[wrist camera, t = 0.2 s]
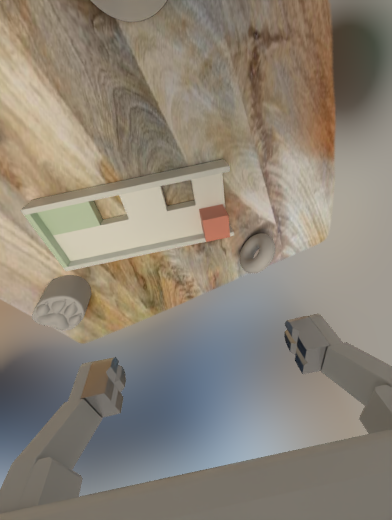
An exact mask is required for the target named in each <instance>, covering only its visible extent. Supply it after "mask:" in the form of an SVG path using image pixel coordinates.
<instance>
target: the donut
mask: <svg viewBox="0 0 392 520" xmlns="http://www.w3.org/2000/svg"><path fill="white" fill-rule="evenodd" d="M259 248H260V249H259ZM257 249H259V252H258V254H257V256H256V257H255V258H254V259H253V257H254V254H255V252H256V251H257ZM274 253H275V243H274V241H273V239H272V238H271V237H270V236H269V235H267V234H263V233H259V234H256V235H254V236H252V237H250V238H249V239H248V240H247V241H246V243H245V244H244V246H243V248H242V250H241V253H240V264H241V267H242V268H243V269H244V270H245V271H246V272H248V273H258V272H260V271H263V270H264V269H265V268H266V267H267V266H268V265H269V264H270V263H271V261H272V259H273V257H274Z"/></svg>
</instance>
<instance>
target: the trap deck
mask: <svg viewBox="0 0 392 520" xmlns="http://www.w3.org/2000/svg"><path fill="white" fill-rule="evenodd" d="M225 172H230V166H229V165H228V163H227V162H226V161H225V160H224V159H222V160H217V161H212V162H208V163H203V164H198V165H193V166H189V167H184V168H179V169H175V170H170V171H165V172H161V173H156V174H151V175H147V176H142V177H137V178H132V179H128V180H123V181H118V182H114V183H109V184H104V185H100V186H95V187H90V188H85V189H81V190H76V191H71V192H67V193H62V194H57V195H53V196H48V197H43V198H38V199H34V200H31V201H30V202H29V203H28V204H27V205H26V206H25V207H23V208H22V209H21V212H22V213H23V214H24V216H25V217H26V218H27V220H28V221H29V222H30V224H31V225H32V226H33V228H34V229H35V231H36V232H37V233H38V235H39V236H40V237H41V239H42V240H43V241H44V243H45V244H46V245H47V247H48V248H49V249H50V251H51V252H52V253H53V255H54V256H55V257H56V259H57V260H58V261H59V263H60V264H61V266H62V267H63V268H64V270H65V271H70V270H74V269H79V268H84V267H88V266H93V265H98V264H103V263H107V262H112V261H117V260H121V259H126V258H131V257H135V256H140V255H145V254H150V253H154V252H159V251H164V250H168V249H173V248H178V247H183V246H187V245H192V244H197V243H201V242H206V240H205V236H204V233H203V230H202V224H201V218H200V212H199V209H202V208H207V207H211V206H216V205H221V204H223V206H224V208H225V199H224V187H223V176H222V173H225ZM187 180H191V184H192V190H193V196H194V200H193V201H188V202H184V203H179V204H174V205H169V206H167V205H166V201H165V197H164V193H163V190H162V186H164V185H168V184H173V183H178V182H183V181H187ZM117 195H119V196H120V198H121V201H122V203H123V206H124V208H125V211H126V213H127V215H122V216H118V217H113V218H108V219H104V220H103V219H102V217H101V215H100V213H99V211H98V209H97V207H96V205H95V203H94V201H93V200H98V199H103V198H107V197H112V196H117ZM229 229H230V236H234V232H233V230H232V228H231V226H230V224H229Z"/></svg>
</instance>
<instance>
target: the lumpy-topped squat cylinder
mask: <svg viewBox="0 0 392 520" xmlns="http://www.w3.org/2000/svg"><path fill="white" fill-rule="evenodd" d="M90 297H91V288H90V285H89V284H88V282H87V281H86V280H85V279H83V278H81V277H79V276H74V275H67V276H61V277H58V278H56V279H53V280H52V281H51V282H50V283H49V284H48V286H47V287H46V289H45V291H44V293H43V295H42V296H41V298H40V300H39V302H38V304H37V306H36V307H35V309H34V312H33V314H32V318H33V320H34V321H35V322H36V323H39V324H41V325H44V326H50V327H53V328H56V329H58V330H70V329H73V328H74V327H76V326H77V325H78V324H79V323H80V322H81V320H82V319H83V317H84V315H85V312H86V309H87V306H88V303H89V300H90Z"/></svg>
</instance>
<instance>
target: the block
mask: <svg viewBox="0 0 392 520" xmlns="http://www.w3.org/2000/svg"><path fill="white" fill-rule="evenodd" d="M199 212H200V218H201V224H202V230H203V233H204V236H205V240H206V242H208V241H213V240H218V239H222V238H227V237H230V229H229V216H228V213H227V212H226V210H225V208H224V206H223V204H221V205H216V206H211V207H207V208H202V209H199Z"/></svg>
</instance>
